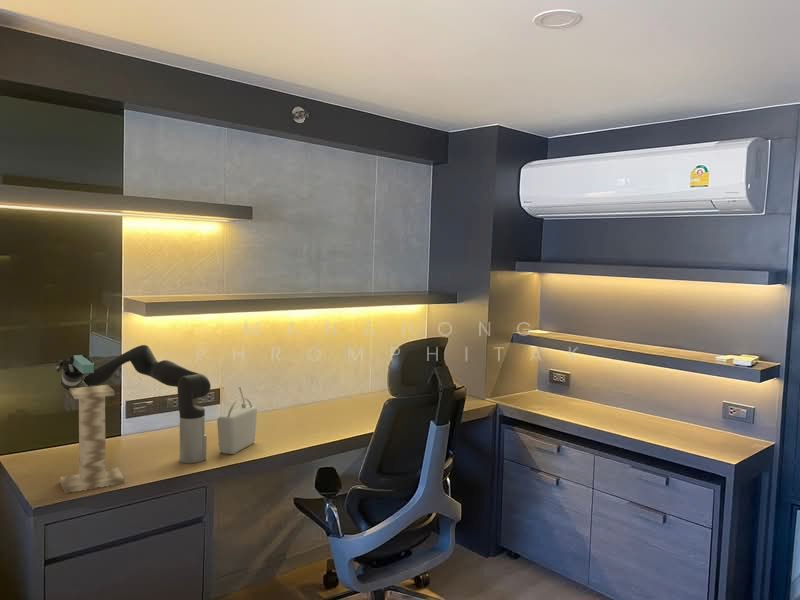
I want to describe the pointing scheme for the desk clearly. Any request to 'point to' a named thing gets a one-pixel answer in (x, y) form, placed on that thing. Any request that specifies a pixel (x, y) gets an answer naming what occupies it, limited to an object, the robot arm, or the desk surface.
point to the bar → (83, 364)
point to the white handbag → (237, 428)
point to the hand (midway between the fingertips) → (78, 357)
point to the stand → (91, 442)
